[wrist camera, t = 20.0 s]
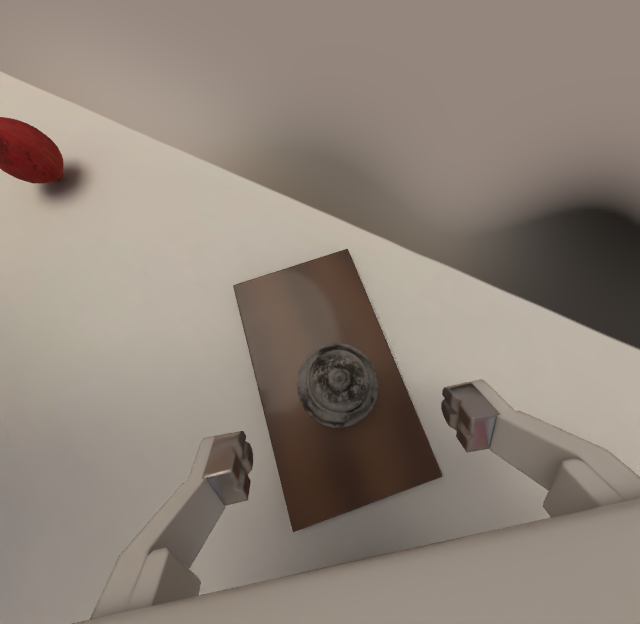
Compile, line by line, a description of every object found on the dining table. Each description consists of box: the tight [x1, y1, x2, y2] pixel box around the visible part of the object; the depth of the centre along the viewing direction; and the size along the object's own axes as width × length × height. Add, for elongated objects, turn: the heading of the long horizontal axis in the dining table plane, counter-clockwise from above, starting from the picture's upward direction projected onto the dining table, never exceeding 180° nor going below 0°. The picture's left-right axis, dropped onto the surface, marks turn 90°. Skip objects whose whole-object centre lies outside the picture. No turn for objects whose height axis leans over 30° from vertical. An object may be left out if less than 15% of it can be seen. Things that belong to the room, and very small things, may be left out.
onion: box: [0, 117, 63, 183], centre depth 28 cm, size 6×6×8 cm
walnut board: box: [234, 249, 442, 532], centre depth 22 cm, size 12×21×1 cm, turn 18°
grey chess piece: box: [297, 343, 378, 428], centre depth 16 cm, size 6×6×12 cm
